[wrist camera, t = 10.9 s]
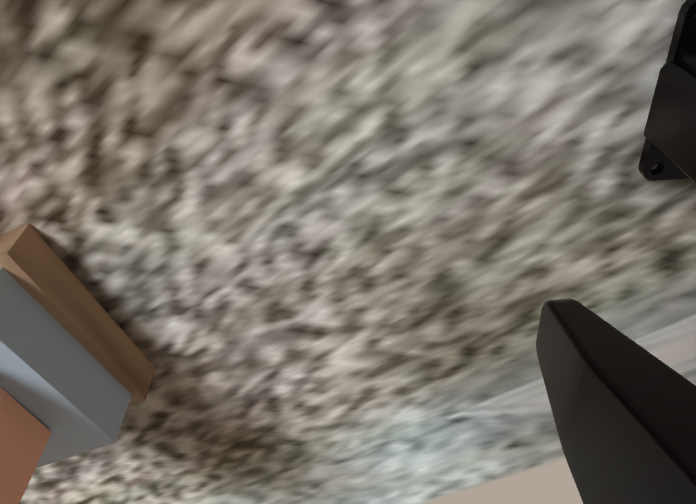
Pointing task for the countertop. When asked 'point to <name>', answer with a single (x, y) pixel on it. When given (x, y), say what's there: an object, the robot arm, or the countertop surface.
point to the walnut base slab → (74, 308)
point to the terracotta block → (18, 448)
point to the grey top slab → (56, 377)
